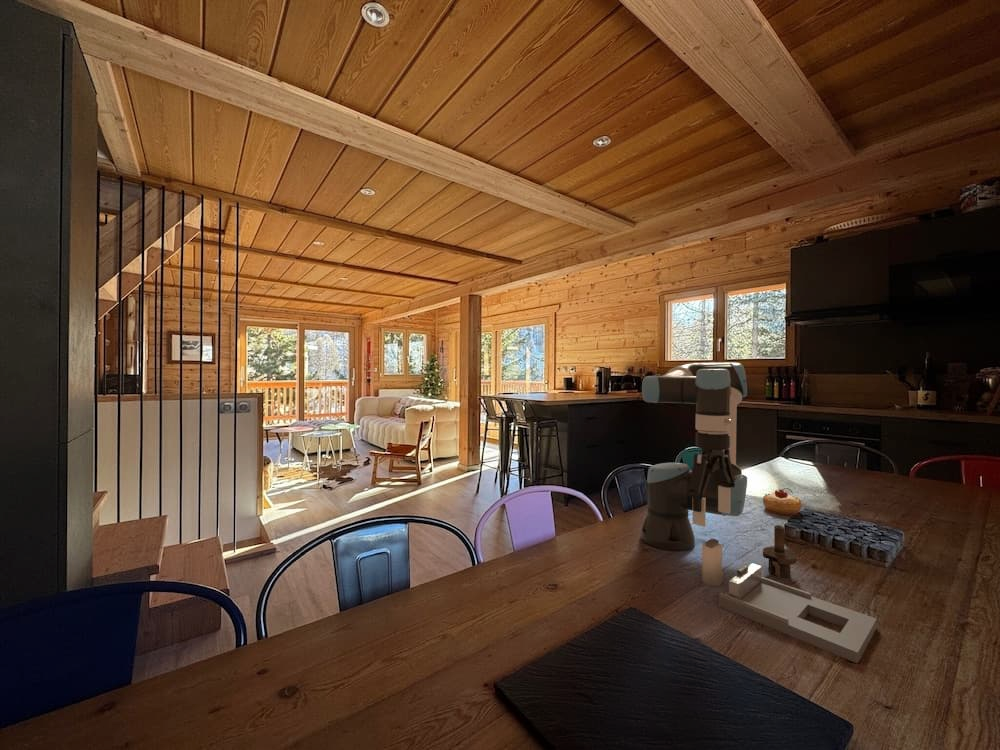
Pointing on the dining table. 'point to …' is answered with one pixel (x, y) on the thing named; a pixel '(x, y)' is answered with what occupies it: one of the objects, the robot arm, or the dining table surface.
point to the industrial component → (779, 555)
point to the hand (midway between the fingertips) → (712, 518)
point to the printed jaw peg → (712, 562)
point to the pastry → (782, 503)
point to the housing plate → (790, 608)
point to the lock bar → (745, 580)
